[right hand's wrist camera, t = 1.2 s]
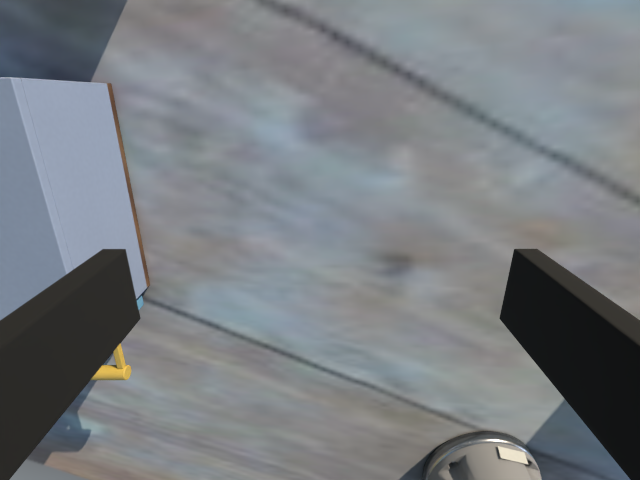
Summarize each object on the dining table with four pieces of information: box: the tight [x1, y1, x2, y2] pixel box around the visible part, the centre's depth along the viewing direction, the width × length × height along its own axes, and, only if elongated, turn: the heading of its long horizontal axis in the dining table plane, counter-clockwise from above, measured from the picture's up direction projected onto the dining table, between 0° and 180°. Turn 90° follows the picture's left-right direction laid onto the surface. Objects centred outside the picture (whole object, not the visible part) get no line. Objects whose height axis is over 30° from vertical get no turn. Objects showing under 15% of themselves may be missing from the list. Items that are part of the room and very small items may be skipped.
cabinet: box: [0, 77, 150, 320], centre depth 31 cm, size 20×7×11 cm, turn 0°
